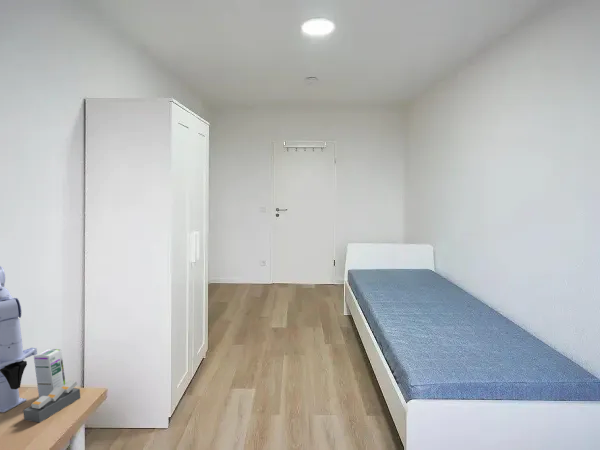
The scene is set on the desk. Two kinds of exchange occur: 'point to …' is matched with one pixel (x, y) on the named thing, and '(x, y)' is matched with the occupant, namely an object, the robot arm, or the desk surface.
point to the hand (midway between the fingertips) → (15, 388)
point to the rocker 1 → (40, 402)
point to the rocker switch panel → (51, 406)
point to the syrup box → (49, 371)
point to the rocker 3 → (69, 386)
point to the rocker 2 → (56, 393)
